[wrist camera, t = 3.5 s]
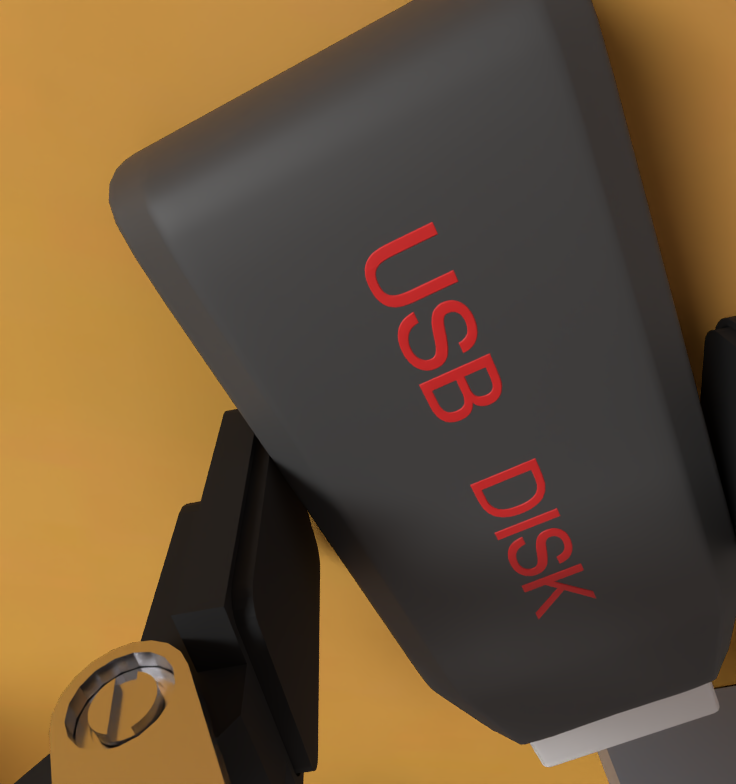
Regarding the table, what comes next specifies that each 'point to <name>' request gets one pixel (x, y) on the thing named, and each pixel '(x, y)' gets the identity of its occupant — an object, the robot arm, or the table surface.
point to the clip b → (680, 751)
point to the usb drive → (463, 358)
